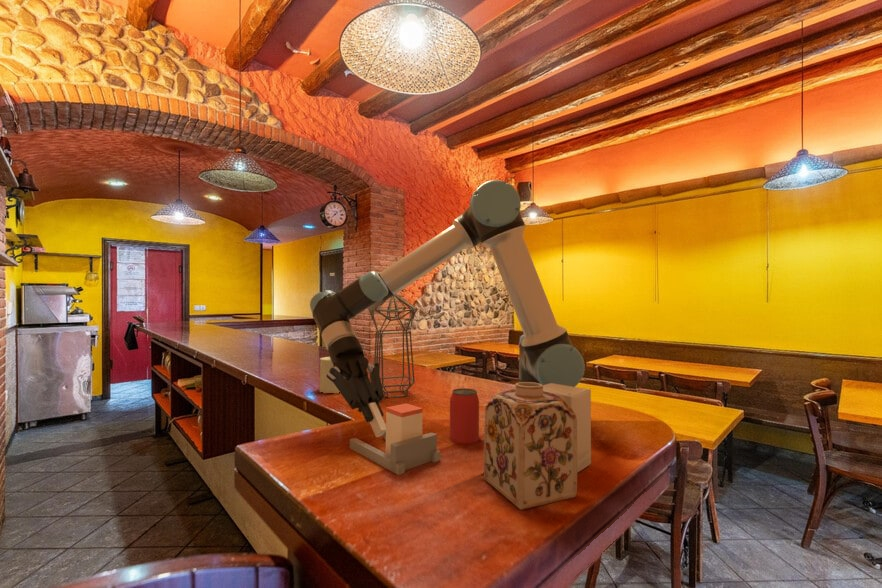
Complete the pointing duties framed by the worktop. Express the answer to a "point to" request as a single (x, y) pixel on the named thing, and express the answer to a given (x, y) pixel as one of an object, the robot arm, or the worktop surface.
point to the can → (325, 383)
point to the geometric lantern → (394, 333)
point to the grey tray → (401, 452)
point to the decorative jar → (530, 446)
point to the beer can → (464, 416)
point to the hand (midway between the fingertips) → (381, 433)
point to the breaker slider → (402, 423)
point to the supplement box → (582, 408)
